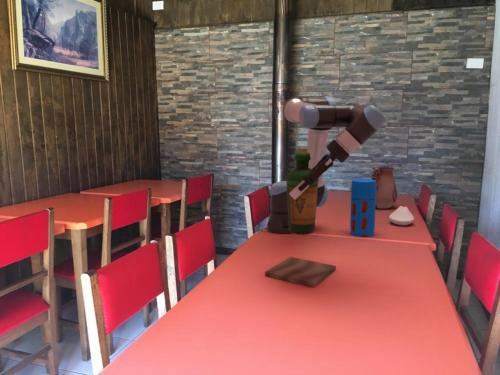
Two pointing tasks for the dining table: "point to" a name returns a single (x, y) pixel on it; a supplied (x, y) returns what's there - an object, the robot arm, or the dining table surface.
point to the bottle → (301, 197)
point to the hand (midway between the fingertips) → (293, 193)
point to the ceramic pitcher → (384, 186)
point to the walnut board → (301, 271)
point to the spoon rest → (401, 216)
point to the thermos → (363, 207)
